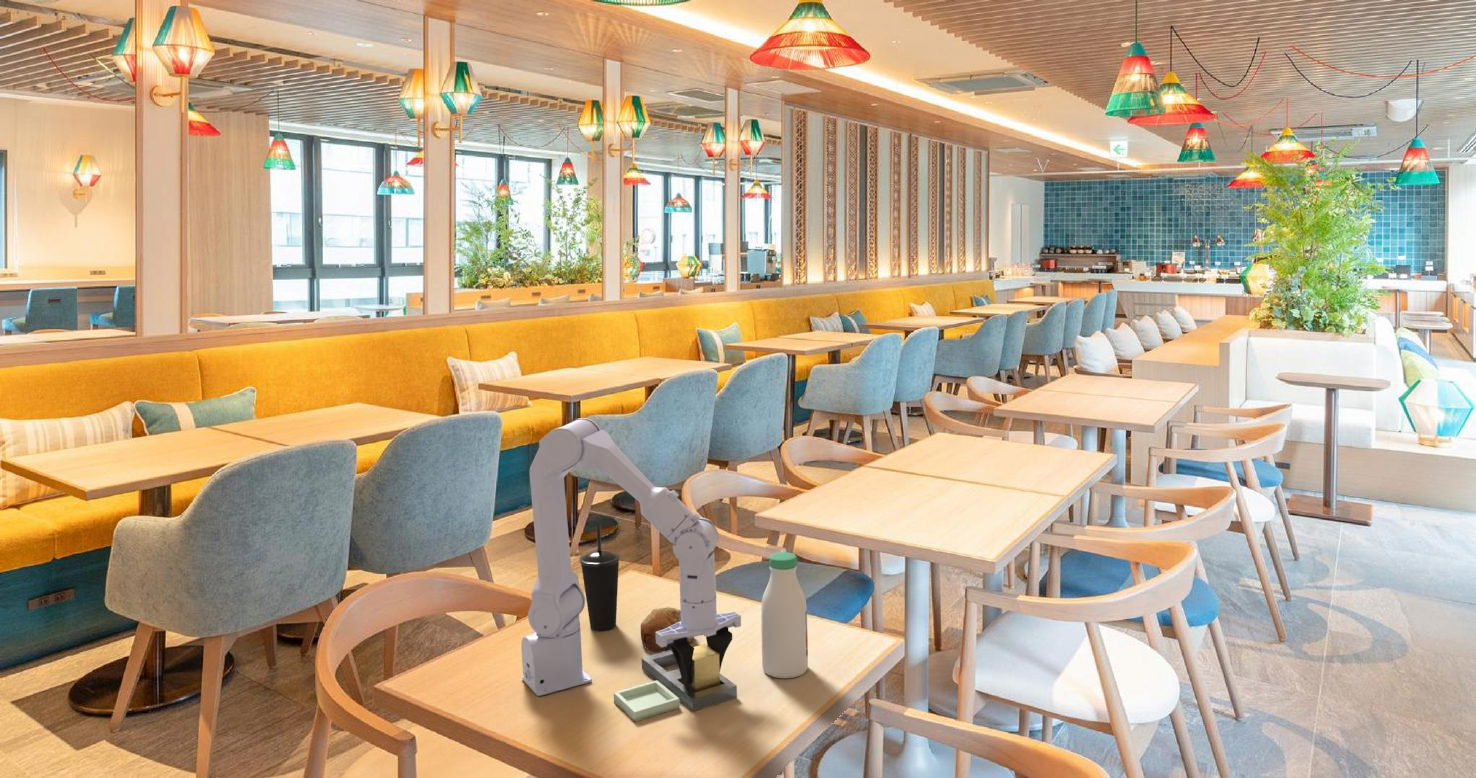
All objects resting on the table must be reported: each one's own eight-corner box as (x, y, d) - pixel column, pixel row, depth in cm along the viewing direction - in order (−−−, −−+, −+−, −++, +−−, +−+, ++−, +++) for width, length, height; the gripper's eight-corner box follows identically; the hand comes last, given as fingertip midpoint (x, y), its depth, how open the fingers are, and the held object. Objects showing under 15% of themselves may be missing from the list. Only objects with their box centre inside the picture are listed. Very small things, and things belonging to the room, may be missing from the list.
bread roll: (697, 653, 176) (698, 609, 179) (689, 652, 167) (690, 605, 169) (644, 652, 177) (646, 608, 180) (633, 651, 168) (635, 604, 170)
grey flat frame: (692, 711, 147) (692, 698, 146) (641, 668, 162) (641, 657, 162) (736, 697, 151) (736, 685, 151) (683, 657, 166) (682, 646, 166)
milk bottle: (804, 681, 156) (803, 564, 153) (758, 678, 157) (755, 562, 154) (810, 661, 163) (809, 549, 160) (766, 658, 165) (764, 547, 162)
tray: (635, 721, 144) (634, 711, 144) (614, 701, 150) (613, 692, 150) (679, 707, 148) (679, 698, 148) (657, 688, 154) (657, 680, 154)
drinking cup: (575, 632, 178) (570, 529, 175) (593, 616, 185) (588, 517, 182) (613, 636, 176) (608, 531, 173) (629, 620, 183) (625, 520, 180)
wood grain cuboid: (695, 702, 150) (694, 660, 148) (682, 691, 153) (680, 650, 152) (720, 694, 152) (719, 653, 151) (706, 684, 156) (705, 643, 155)
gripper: (669, 614, 143) (672, 699, 145) (750, 594, 151) (752, 675, 153) (648, 600, 149) (651, 682, 151) (727, 581, 156) (729, 659, 158)
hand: (700, 677), depth 152 cm, fingers closed on wood grain cuboid, 4 cm apart
